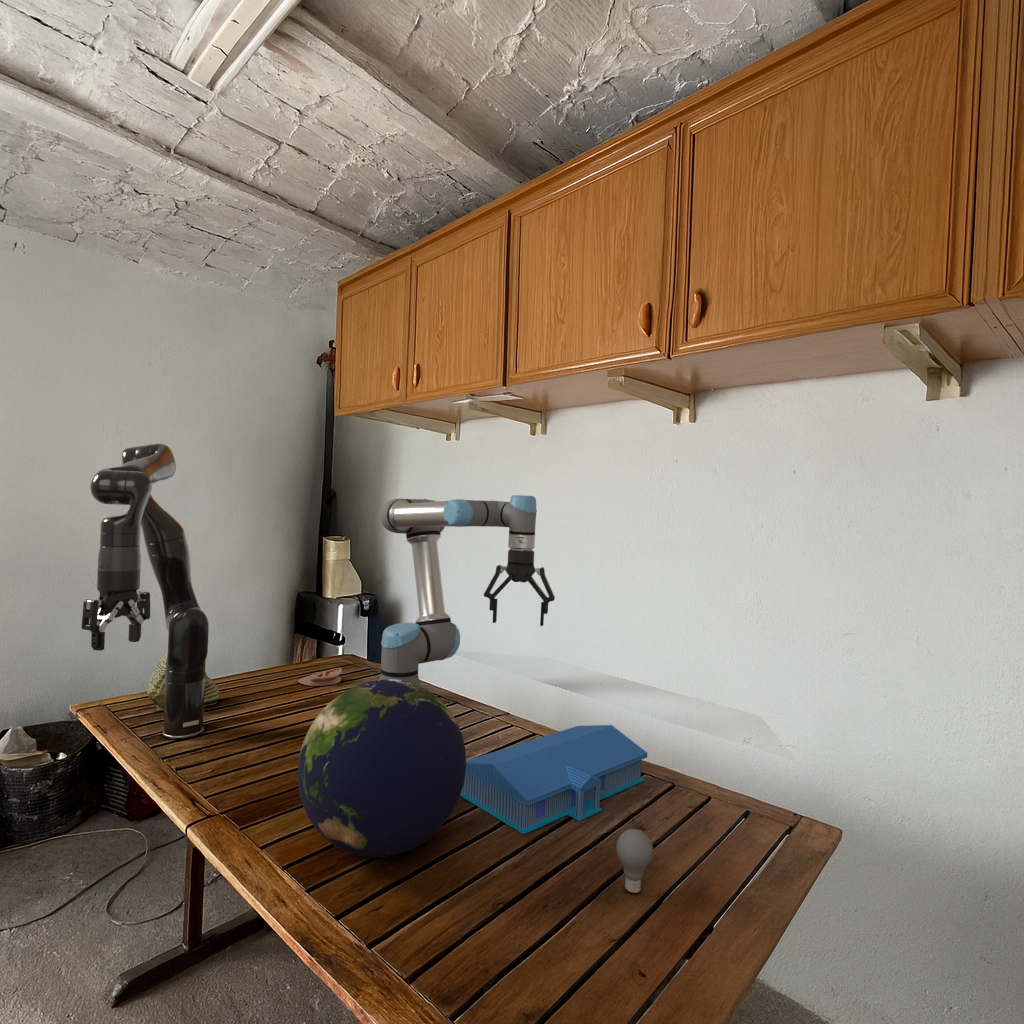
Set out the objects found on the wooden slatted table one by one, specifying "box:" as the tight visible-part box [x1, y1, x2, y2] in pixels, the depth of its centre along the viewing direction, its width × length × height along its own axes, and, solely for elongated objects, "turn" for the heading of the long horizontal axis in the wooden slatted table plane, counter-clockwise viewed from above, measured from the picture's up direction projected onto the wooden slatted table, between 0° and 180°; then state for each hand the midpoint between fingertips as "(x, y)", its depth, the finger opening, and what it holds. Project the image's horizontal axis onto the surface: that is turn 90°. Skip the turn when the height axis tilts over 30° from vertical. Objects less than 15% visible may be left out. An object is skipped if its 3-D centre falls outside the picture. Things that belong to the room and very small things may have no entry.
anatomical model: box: [297, 667, 343, 687], centre depth 214 cm, size 13×4×12 cm
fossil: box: [147, 654, 221, 712], centre depth 185 cm, size 9×18×15 cm, turn 132°
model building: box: [460, 724, 649, 835], centre depth 142 cm, size 39×24×10 cm, turn 132°
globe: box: [297, 679, 467, 858], centre depth 116 cm, size 30×30×30 cm
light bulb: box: [615, 828, 654, 894], centre depth 106 cm, size 6×6×10 cm
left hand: (116, 645), depth 131 cm, fingers open, 8 cm apart
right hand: (518, 623), depth 181 cm, fingers open, 13 cm apart
